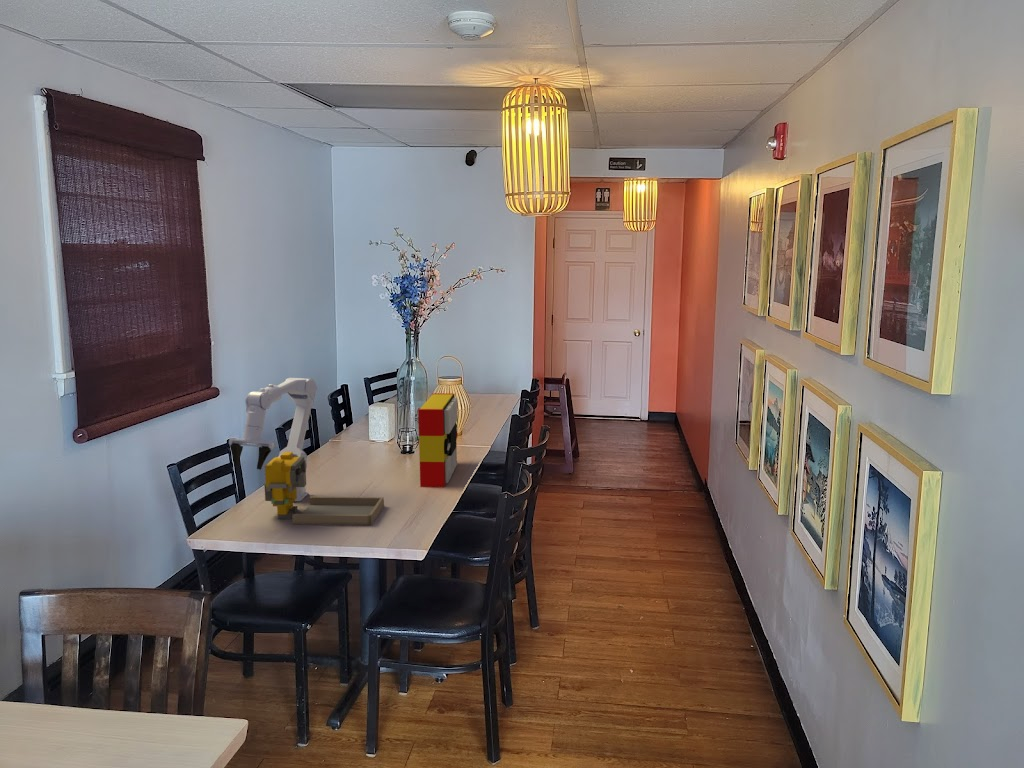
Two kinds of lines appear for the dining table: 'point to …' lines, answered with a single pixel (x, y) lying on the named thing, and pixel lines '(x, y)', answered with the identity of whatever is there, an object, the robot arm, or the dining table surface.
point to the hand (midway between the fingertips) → (247, 468)
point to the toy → (284, 482)
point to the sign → (437, 439)
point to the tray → (340, 511)
